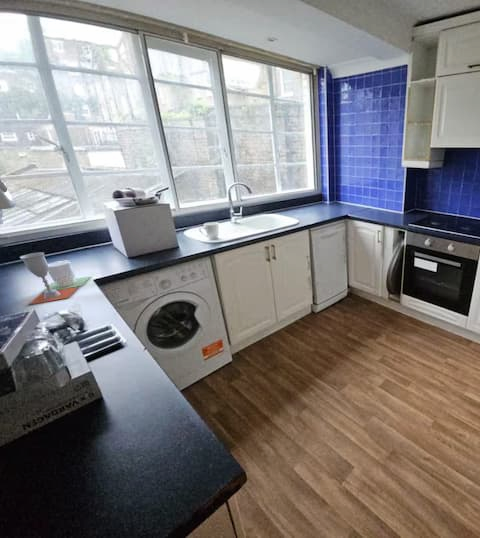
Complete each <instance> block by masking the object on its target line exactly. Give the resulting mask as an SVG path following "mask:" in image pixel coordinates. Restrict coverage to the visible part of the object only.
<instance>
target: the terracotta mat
mask: <svg viewBox="0 0 480 538" xmlns="http://www.w3.org/2000/svg"><path fill="white" fill-rule="evenodd" d="M78 289H79V287H75V288H69V289H63V290H57V291H58V292H59V293H61V294H60V295H58V296H56V297H53V298H48V299H45V298H44V293H45V292H44V293H43V292H42V293H40V294H39V295H38V296H37V297H36V298H34V299H33V300H32V301H31V302H30V303H28V306H32V305H33V306H34V305H38V304H43V303H50V302H54V301H61V300H67V299H69V298H70V297H71V296H72V295H73V294H74V293H75V292H76V291H77V290H78Z"/></svg>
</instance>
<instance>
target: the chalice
mask: <svg viewBox="0 0 480 538" xmlns="http://www.w3.org/2000/svg"><path fill="white" fill-rule="evenodd" d="M19 258H20V260H22V261H23V263H24V266H25V267H26V268H27V270H28V271H29V272H30V273H31V274H33V275H34V276H36V277H37V278H41V279H42V283H43V284H44V287H45V289H47V291H46V292H45V293H44V298H45V299H48V298H53V297H56V296H58V295H60V294H61V293H59V292H58V291H57V290H55V289H51V288H50V285H51V284H50V283H48V281H49V280H48V279H47V278H46V276H48V273H49V272H48V264H49V263H48V261H47V259H46V257H45V252H44V251H43V252H42V251H41V252H40V251H39V252H31V253H27V254H24V255H20V256H19Z"/></svg>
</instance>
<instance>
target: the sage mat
mask: <svg viewBox="0 0 480 538" xmlns="http://www.w3.org/2000/svg"><path fill="white" fill-rule="evenodd" d="M89 279H90V276H85V277H79V278H76V280H77V282H76V283H74V284H72V285H69V286H65V287H57V286H56V284H55V282H54V281H53V283H51V284H50V288H51V289H55V290H63V289H69V288H75V287H78V288H81V287H82V286H84V284H85V283H86V282H87V281H88V280H89ZM46 291H47V288H45V289H44V290H43V291H42V293H44V292H46Z"/></svg>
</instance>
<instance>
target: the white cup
mask: <svg viewBox="0 0 480 538" xmlns="http://www.w3.org/2000/svg"><path fill="white" fill-rule="evenodd" d="M47 273H48V274H49V275H50V278H51V279H52V281H53V283H54V282H55V284H56V286H57V287H65V286H69V285H72V284H74V283H76V282H77V280H76V279H77V278H76V274H75V271H74V268H73V266H72V263H71V261H70V260H69V259H67V260H66V259H65V260H58V261H52V262H50V263H48V272H47Z"/></svg>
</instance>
